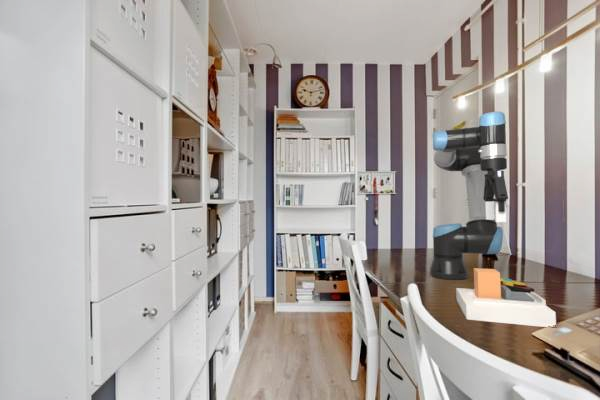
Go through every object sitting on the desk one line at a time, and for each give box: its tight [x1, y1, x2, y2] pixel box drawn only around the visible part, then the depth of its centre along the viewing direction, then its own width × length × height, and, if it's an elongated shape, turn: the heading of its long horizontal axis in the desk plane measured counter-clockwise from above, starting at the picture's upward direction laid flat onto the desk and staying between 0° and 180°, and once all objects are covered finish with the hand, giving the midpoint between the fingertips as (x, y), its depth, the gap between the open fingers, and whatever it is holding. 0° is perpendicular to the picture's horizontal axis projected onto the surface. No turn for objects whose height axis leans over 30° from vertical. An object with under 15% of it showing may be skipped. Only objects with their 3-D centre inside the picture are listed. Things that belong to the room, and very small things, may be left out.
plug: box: [473, 267, 501, 299], centre depth 88 cm, size 6×6×12 cm
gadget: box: [500, 277, 535, 294], centre depth 103 cm, size 6×13×6 cm, turn 69°
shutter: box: [501, 285, 534, 302], centre depth 85 cm, size 6×6×3 cm
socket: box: [455, 287, 557, 328], centre depth 87 cm, size 18×20×6 cm
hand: (495, 220), depth 100 cm, fingers open, 13 cm apart
